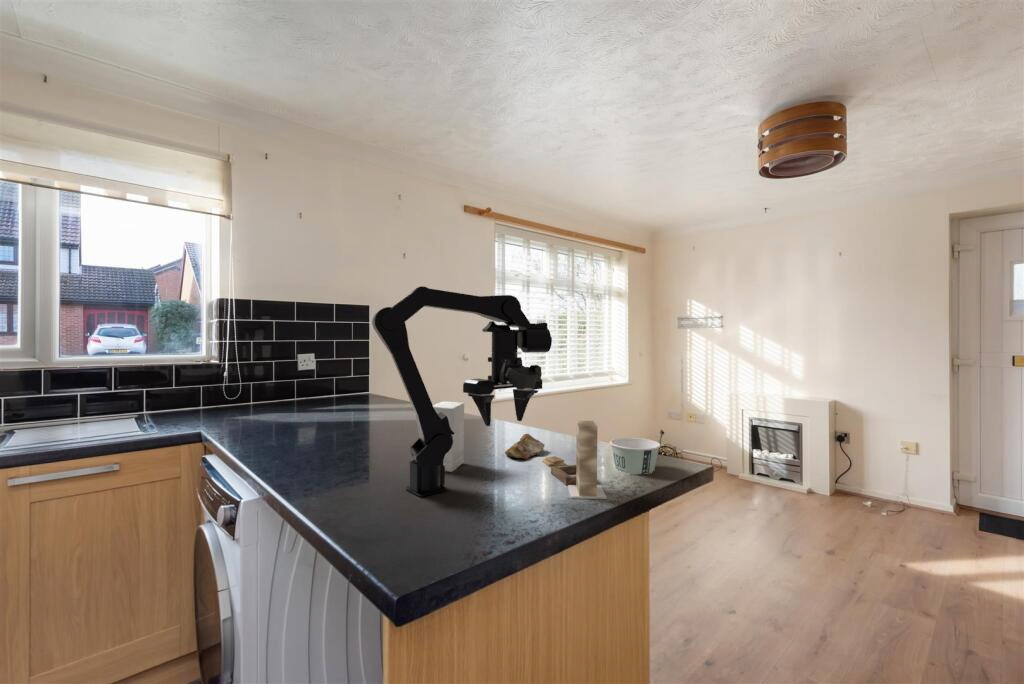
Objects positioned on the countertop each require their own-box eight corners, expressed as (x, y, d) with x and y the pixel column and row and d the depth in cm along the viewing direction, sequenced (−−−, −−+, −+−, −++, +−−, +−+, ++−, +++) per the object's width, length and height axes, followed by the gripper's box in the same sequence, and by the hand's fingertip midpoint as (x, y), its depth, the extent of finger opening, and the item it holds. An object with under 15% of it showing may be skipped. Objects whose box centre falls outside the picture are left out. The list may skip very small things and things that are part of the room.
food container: (671, 472, 112) (671, 445, 112) (633, 479, 106) (634, 451, 106) (635, 460, 122) (635, 435, 122) (599, 466, 116) (599, 440, 116)
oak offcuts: (549, 466, 116) (549, 461, 116) (542, 461, 120) (542, 456, 120) (565, 465, 117) (565, 460, 117) (557, 460, 121) (557, 455, 121)
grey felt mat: (571, 498, 93) (571, 496, 93) (567, 487, 100) (567, 485, 100) (606, 498, 93) (606, 496, 93) (600, 487, 100) (600, 485, 100)
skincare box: (441, 461, 120) (441, 400, 119) (465, 463, 118) (466, 402, 118) (427, 470, 112) (427, 405, 111) (453, 472, 110) (453, 406, 110)
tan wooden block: (579, 495, 94) (579, 426, 93) (576, 485, 100) (576, 420, 100) (596, 496, 93) (597, 426, 93) (592, 486, 100) (593, 420, 99)
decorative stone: (549, 433, 132) (532, 451, 119) (549, 447, 133) (532, 467, 119) (517, 430, 136) (497, 447, 122) (517, 444, 136) (498, 463, 122)
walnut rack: (566, 485, 101) (566, 478, 101) (551, 473, 110) (551, 466, 110) (596, 482, 103) (596, 475, 103) (579, 471, 112) (579, 464, 112)
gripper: (494, 355, 91) (494, 435, 91) (560, 353, 103) (559, 423, 103) (461, 353, 99) (461, 426, 99) (525, 351, 111) (525, 416, 112)
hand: (504, 423), depth 103 cm, fingers open, 9 cm apart
